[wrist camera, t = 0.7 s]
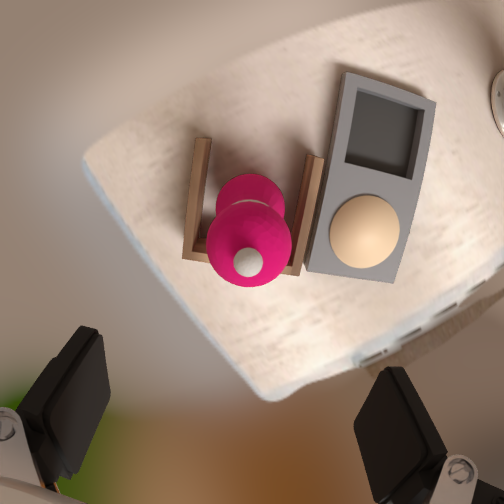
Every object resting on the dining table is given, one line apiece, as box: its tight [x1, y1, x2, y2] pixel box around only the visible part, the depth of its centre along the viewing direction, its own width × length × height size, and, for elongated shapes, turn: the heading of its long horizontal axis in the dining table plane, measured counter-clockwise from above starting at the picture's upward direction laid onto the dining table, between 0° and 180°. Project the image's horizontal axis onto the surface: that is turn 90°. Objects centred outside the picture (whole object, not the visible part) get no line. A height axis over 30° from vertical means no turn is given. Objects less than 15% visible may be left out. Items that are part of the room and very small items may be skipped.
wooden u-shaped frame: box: [182, 138, 324, 276], centre depth 35 cm, size 13×13×5 cm
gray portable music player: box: [305, 72, 436, 284], centre depth 35 cm, size 12×24×2 cm, turn 171°
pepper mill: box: [206, 174, 292, 287], centre depth 28 cm, size 7×7×20 cm
